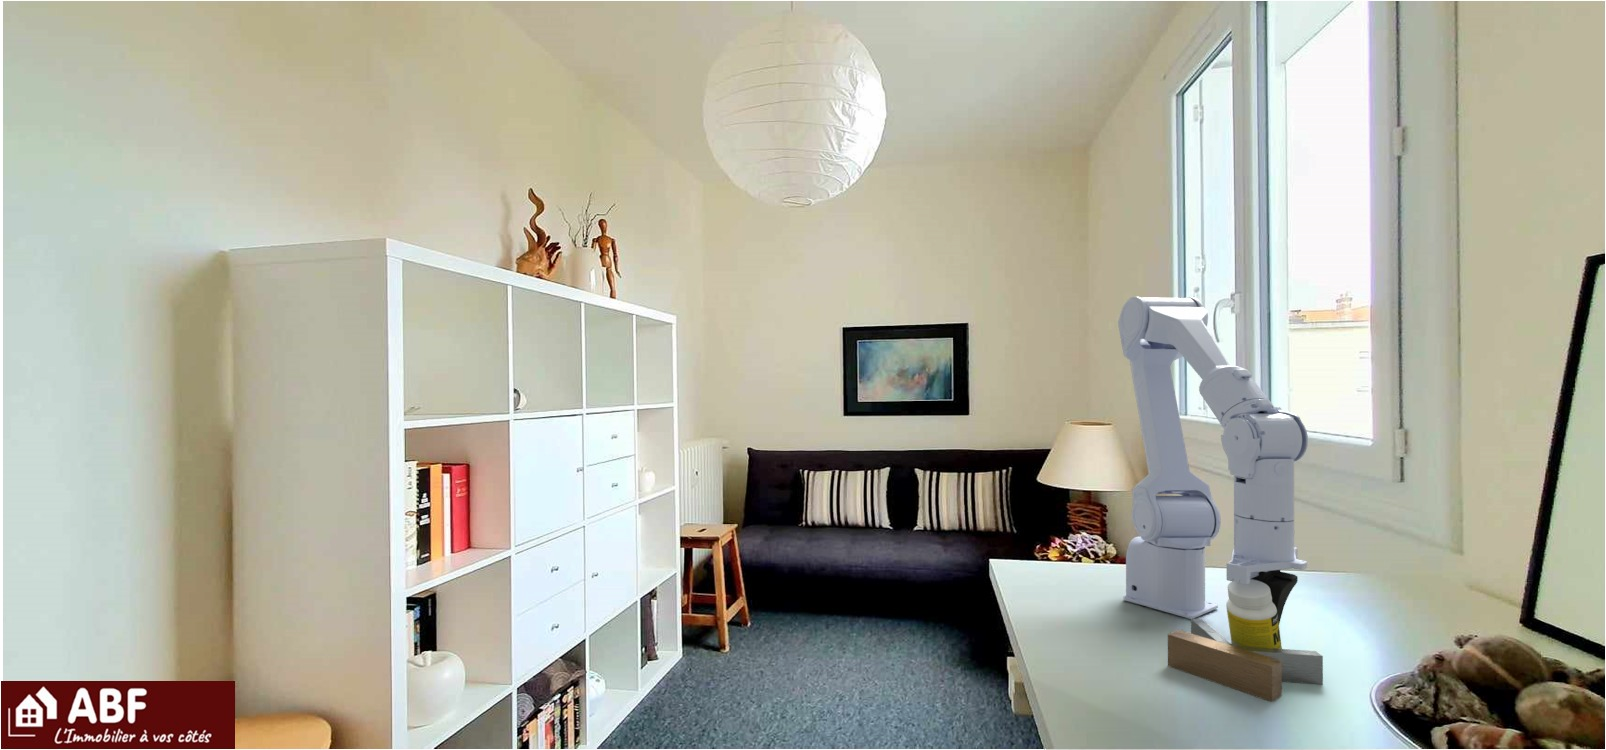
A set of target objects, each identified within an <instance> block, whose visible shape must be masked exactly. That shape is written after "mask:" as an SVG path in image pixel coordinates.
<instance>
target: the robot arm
mask: <svg viewBox="0 0 1606 750" xmlns="http://www.w3.org/2000/svg"><path fill="white" fill-rule="evenodd" d="M1208 321H1209V311H1208V310H1206V308H1205V307H1204V305H1203V303H1202V302H1201V301H1200V300H1199V299H1198V298H1197V297H1193V296H1191V297H1190V296H1189V297H1184V298H1183V297H1181V298H1180V297H1141V296H1132V297H1129V298H1128V299H1127V301H1126V302H1125V303H1124V304H1123V306H1122V307H1121V311H1120V315H1119V317H1118V322H1117V323H1118V329H1119V336H1120V337H1119V338H1120V342H1121V344H1120V345H1121V348H1122V353H1123V354H1122V355H1123V357H1125V358H1126V359H1127V360H1129V365H1130V370H1131V378H1132V383H1133V388H1134V389H1133V390H1134V394H1135V400H1136V407H1137V414H1138V418H1139V425H1140V430H1141V437H1142V440H1143V441H1142V443H1143V448H1144V454H1145V460H1146V466H1147V472H1148V474H1147V475H1146V476H1145V477H1144V478H1142V479H1141V480H1140V481H1139V482H1138V483H1137V484H1136V485H1134V487H1133V488H1132V490H1131V491H1132V507H1131V508H1132V509H1131V521H1132V525H1133V527H1134V529H1135V531H1136V533H1137V534H1138V535H1139V536H1135V537H1133V538H1132V539H1131V540H1130V542H1129V543H1128V547H1127V550H1126V552H1125V553H1126V555H1125V595H1124V596H1122V598H1123V600H1124V601H1127V602H1129V603H1133V604H1136V605H1141V606H1145V607H1147V608H1150V609H1154V610H1158V611H1161V612H1165V613H1168V614H1172V615H1176V616H1179V617H1183V618H1186V619H1189V620H1191V619H1197V618H1198V617H1200V616H1202V615H1205V614H1208V613H1209V612H1212V611H1213V610H1217V609H1218V608H1219V605H1218V604H1217V603H1214V602H1211V601H1210V602H1209V601H1206V547H1210V546H1211V540H1213V539H1215V538H1216V537H1217V535H1219V532H1220V529H1221V525H1222V517H1221V513H1220V510H1219V508H1218V506H1217V504H1216V503H1215V500H1214V499H1213V497H1212V491H1211V488H1210V485H1209V484H1208V483H1207V482H1206V481H1204V480H1202V479H1201V478H1200V477H1198V476H1196V475H1195V474H1194V473H1193V472H1191V471H1190V465H1189V459H1188V454H1187V449H1186V444H1185V439H1184V434H1183V428H1182V422H1181V418H1180V412H1179V406H1178V401H1177V397H1176V391H1175V385H1174V381H1173V376H1172V369H1171V367H1172V364H1173V363H1174V361H1176V360H1178V359H1181V358H1183V359H1184V360H1185V361H1186V362H1187V363H1188V364H1189V366H1190V367H1191V368H1192V369H1193V370H1194V371H1195V373H1196V374H1197V375H1198V376H1199V377H1200V379H1201V382H1200V384H1199V386H1198V388H1199V389H1198V391H1199V394H1200V395H1201V397H1202V399H1203V400H1204V401H1205V402H1206V405H1207V406H1208V407H1209V409H1210V411H1211V412H1212V413H1213V415H1214V416H1215V418H1216V420H1217V421H1218V422H1219V424H1220V425H1221V427H1222V429H1224V430H1223V434H1221V435H1220V440H1221V441H1220V442H1221V446H1222V448H1223V451H1224V453H1225V456H1226V457H1227V461H1228V466H1227V467H1228V471H1229V473H1230V475H1231V476H1233V550H1232V551H1231V556H1230V561H1228V562H1226V565H1225V566H1226V581H1229V582H1232V581H1233V582H1237V583H1241V584H1246V585H1247V584H1249V583H1250V579H1252V580H1257V581H1260V582H1263V583H1265V584H1266V585H1268V586H1269V588H1270V591H1271V596H1272V602H1273V603H1274V605H1275V606H1276V609H1277V614H1278V622H1279V624H1280V622H1281V620H1282V615H1283V612H1284V611H1283V610H1284V608H1285V605H1286V603H1287V600H1288V599H1289V595H1290V594H1291V592H1292V591H1293V589H1294V587H1295V586H1296V585H1297V583H1298V579H1299V578H1298V575H1296V574H1293V573H1290V572H1284V571H1283V570H1290V569H1294V570H1299V571H1301V570H1305V569H1307V568H1308V561H1306V560H1304V559H1298V558H1299V557H1298V556H1299V553H1298V552H1299V551H1298V550H1299V547H1296V546H1295V462H1298V461H1299V460H1301V458H1303V456H1304V455H1305V454H1306V452H1307V448H1308V443H1309V438H1308V437H1309V435H1308V432H1307V428H1306V427H1305V425H1304V423H1303V421H1302V420H1301V419H1302V418H1301V417H1300V416H1299V415H1297V414H1296V413H1293V412H1290V411H1284V410H1283V409H1282V408H1281V407H1280V406H1279V407H1278V406H1274V405H1273V402H1271V401H1270V399H1269V398H1268V397H1267V395H1266V394H1265V393H1264V391H1263V390H1262V389H1261V388H1260V387H1259V385H1258V383H1257V382H1256V381H1255V380H1254V378H1253V377H1252V374H1251V373H1250V371H1249V370H1248V369H1247V368H1244V367H1241V366H1237V365H1230V364H1229V362H1228V361H1227V359H1226V357H1225V356H1224V354H1223V352H1222V351H1221V348H1220V347H1219V345H1218V344H1217V343H1216V341H1215V339H1214V337H1213V336H1212V334H1211V332H1210V330H1209V329H1208Z"/></svg>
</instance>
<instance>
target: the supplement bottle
mask: <svg viewBox="0 0 1606 750" xmlns="http://www.w3.org/2000/svg"><path fill="white" fill-rule="evenodd" d="M1227 596H1228V599H1227V601H1226V605H1225V607H1226V615H1227V622H1228V627H1229V635H1230V641H1231V642H1230V643H1231V644H1232V645H1233V646H1245V647H1260V648H1275V649H1283V647H1282V639H1281V633H1280V623H1279V622H1278V614H1277V609H1276V606H1275V605H1274V603H1273V602H1272V596H1271V591H1270V588H1269V586H1268V585H1266V584H1265V583H1263V582H1260V581H1257V580H1252V579H1250V583H1249V584H1247V585H1246V584H1241V583H1237V582H1233V581H1229V583H1228V585H1227Z"/></svg>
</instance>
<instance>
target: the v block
mask: <svg viewBox="0 0 1606 750" xmlns="http://www.w3.org/2000/svg"><path fill="white" fill-rule="evenodd" d="M1323 658H1324V656H1323V655H1322V654H1320V653H1319V652H1318V651H1315V650H1302V649H1285V648H1282V649H1275V648H1260V647H1245V646H1233V645H1232V644H1231V642H1229V640H1227V639H1226V638H1225V637H1223V636H1222V635H1221V634H1220V633H1219V632H1217V630H1215V629H1214V628H1213V627H1211V626H1210V625H1209V624H1208V623H1207V622H1206V621H1205V620H1204V619H1202V618H1193V619H1190V632H1188V631H1184V630H1181V629H1177V630H1174V631H1172V632H1169V633H1167V667H1170V668H1174V669H1176V670H1178V671H1182V672H1185V673H1187V674H1190V675H1193V676H1196V677H1198V678H1202V679H1205V680H1207V681H1211V682H1214V683H1216V684H1218V685H1222V686H1224V687H1228V688H1231V689H1232V690H1233V689H1234V690H1236V691H1239V692H1242V693H1243V694H1247V695H1251V696H1254V697H1256V698H1259V699H1262V700H1264V701H1267V702H1270V703H1273V702H1274V701H1276V700H1278V699H1279V698H1281V697H1282V696H1283V683H1295V684H1305V685H1306V684H1308V685H1321V686H1322V685H1323V684H1324V669H1323V668H1324V667H1323V666H1324V665H1323V664H1324V662H1323V660H1324V659H1323Z"/></svg>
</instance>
